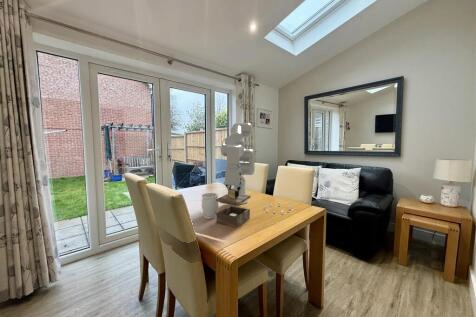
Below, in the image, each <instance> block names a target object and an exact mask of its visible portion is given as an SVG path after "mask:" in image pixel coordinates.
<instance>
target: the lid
mask: <svg viewBox="0 0 476 317" xmlns="http://www.w3.org/2000/svg"><path fill="white" fill-rule="evenodd" d="M235 191H236V189H234V188H232V187H231V189H230V190H229V196H228V193H226V194H224V195H222V196H220V197H217V198H218V199H216V202H218V203H220V204H226V205H229V206H235V207H237V206H239V205H241V204H240V203H242V202H244V201H246V200H247V201H248V200H249V199H251V195H249V194H245V195H243V194H239V196H238V197H235Z"/></svg>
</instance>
